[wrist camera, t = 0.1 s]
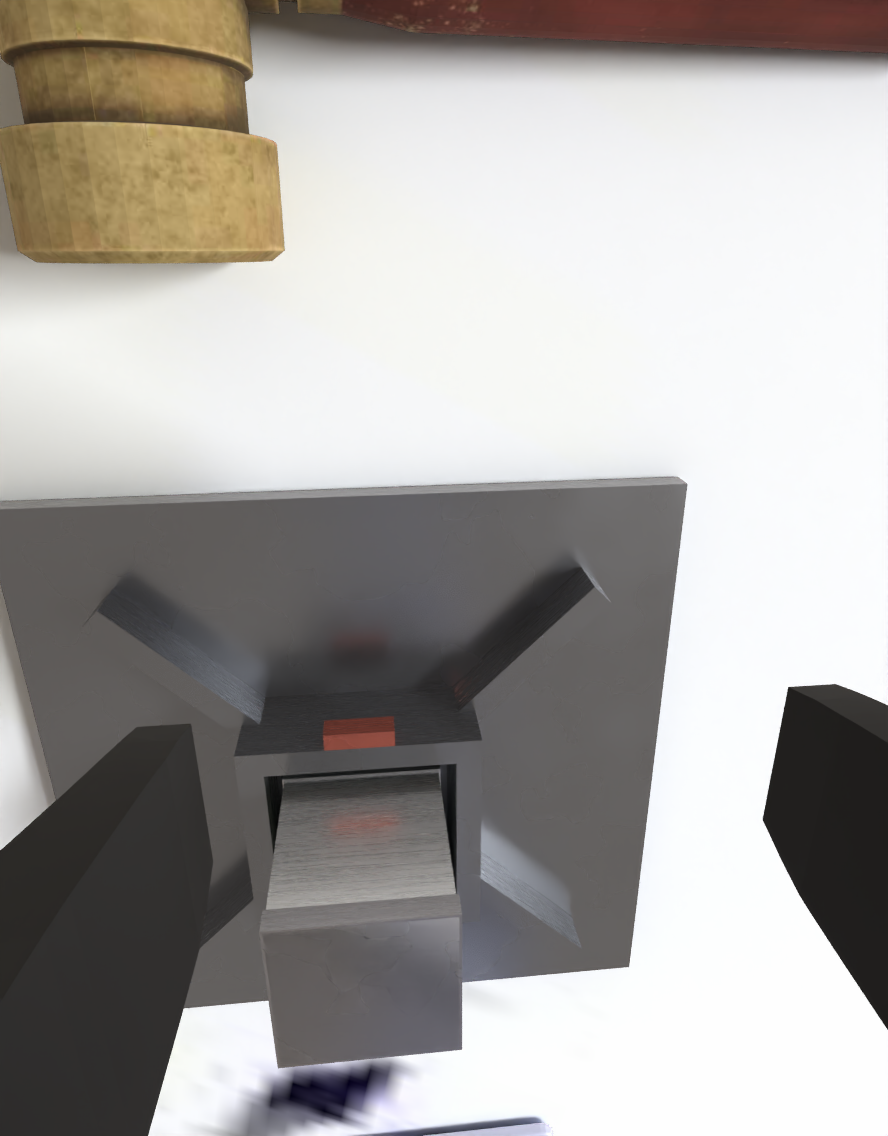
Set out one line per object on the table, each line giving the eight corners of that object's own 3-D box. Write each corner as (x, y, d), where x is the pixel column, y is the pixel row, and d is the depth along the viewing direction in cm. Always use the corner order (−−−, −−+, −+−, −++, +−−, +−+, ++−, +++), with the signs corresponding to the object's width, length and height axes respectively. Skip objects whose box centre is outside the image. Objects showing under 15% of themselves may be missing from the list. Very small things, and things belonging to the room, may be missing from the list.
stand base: (623, 950, 25) (655, 1038, 22) (117, 997, 24) (84, 1096, 21) (677, 476, 19) (732, 516, 16) (-6, 501, 17) (-76, 550, 15)
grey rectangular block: (436, 830, 21) (464, 1050, 16) (299, 841, 21) (276, 1070, 15) (434, 716, 20) (465, 912, 14) (287, 726, 20) (256, 930, 14)
